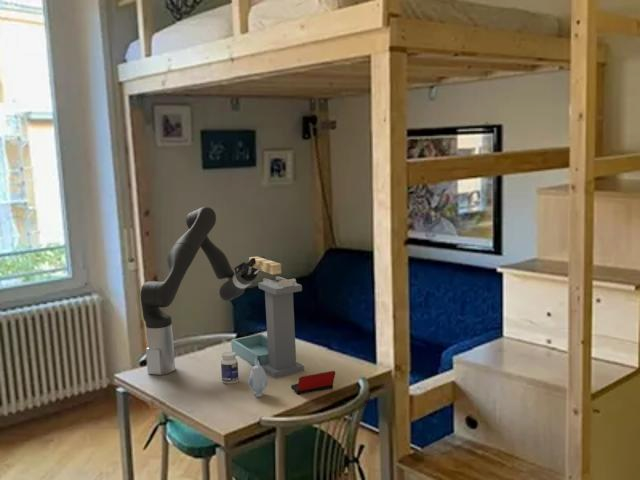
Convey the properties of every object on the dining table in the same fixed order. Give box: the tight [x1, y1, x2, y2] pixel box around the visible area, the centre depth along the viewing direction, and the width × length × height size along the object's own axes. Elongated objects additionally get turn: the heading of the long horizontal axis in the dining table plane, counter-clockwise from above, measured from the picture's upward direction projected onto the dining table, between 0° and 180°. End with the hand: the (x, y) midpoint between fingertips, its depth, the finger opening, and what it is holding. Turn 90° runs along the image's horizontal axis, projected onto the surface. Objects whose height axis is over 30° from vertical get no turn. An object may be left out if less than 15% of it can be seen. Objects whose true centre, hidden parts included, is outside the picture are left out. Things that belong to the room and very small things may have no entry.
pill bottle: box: [220, 351, 239, 385], centre depth 220 cm, size 6×6×10 cm
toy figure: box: [247, 359, 269, 398], centre depth 206 cm, size 11×6×12 cm, turn 26°
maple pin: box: [248, 256, 282, 275], centre depth 232 cm, size 20×3×3 cm, turn 30°
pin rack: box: [257, 276, 305, 379], centre depth 225 cm, size 14×12×34 cm
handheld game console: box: [290, 370, 336, 396], centre depth 209 cm, size 12×11×7 cm
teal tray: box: [230, 333, 269, 367], centre depth 245 cm, size 25×13×5 cm, turn 30°
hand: (259, 259), depth 236 cm, fingers closed on maple pin, 3 cm apart
